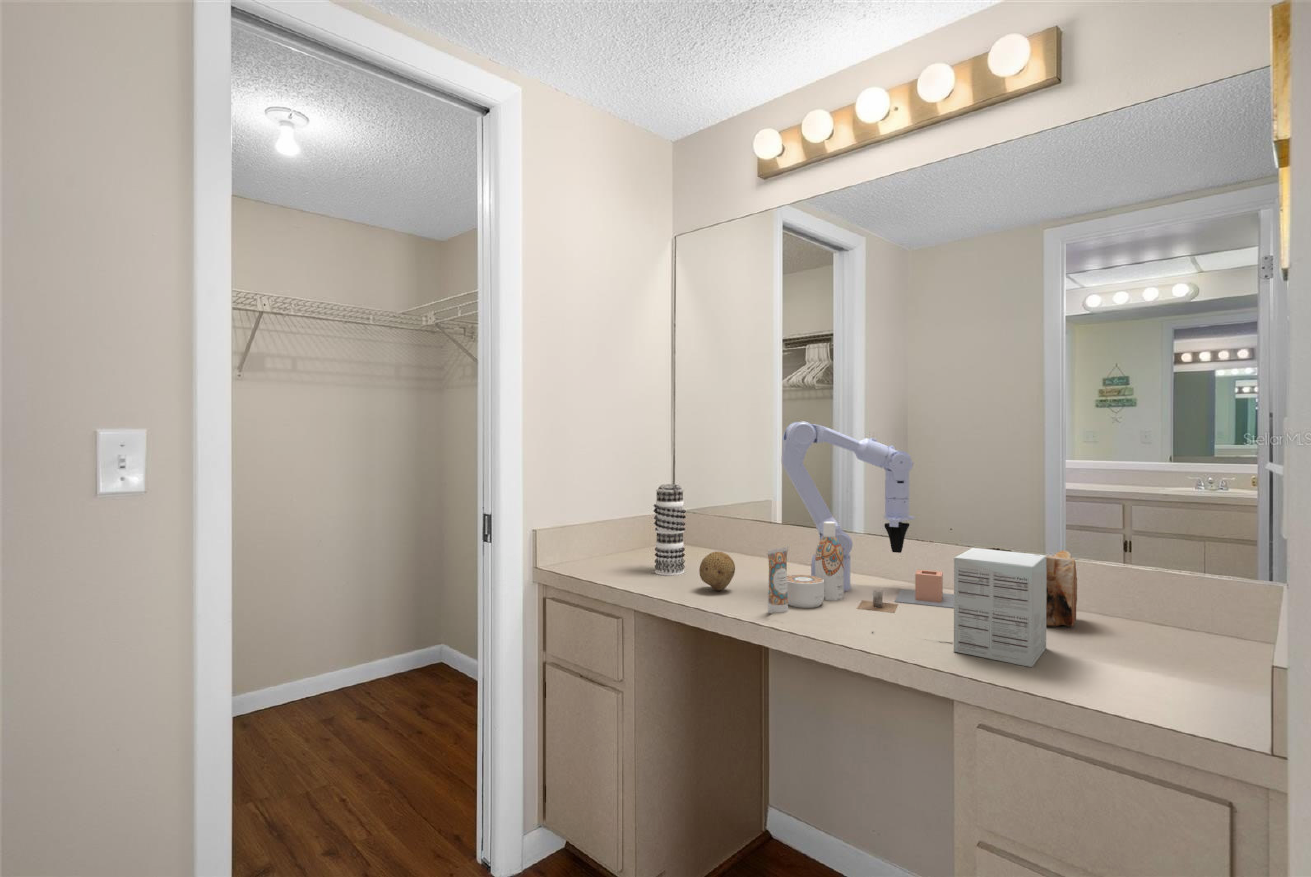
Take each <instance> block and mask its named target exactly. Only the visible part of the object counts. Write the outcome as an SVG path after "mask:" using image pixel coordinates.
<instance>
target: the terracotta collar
mask: <svg viewBox="0 0 1311 877" xmlns="http://www.w3.org/2000/svg"><path fill="white" fill-rule="evenodd" d="M914 576H915V577H914V578H915V580H914V583H915V584H914V587H915V589H914V590H915V600H924V601H934V602H941V601H942V597H943V592H944V591H943V590H944V589H943V587H944V586H943V584H944V582H943V580H944V577H943V576H944V571H939V570H929V569H917V570H916V571H915V575H914Z"/></svg>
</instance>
